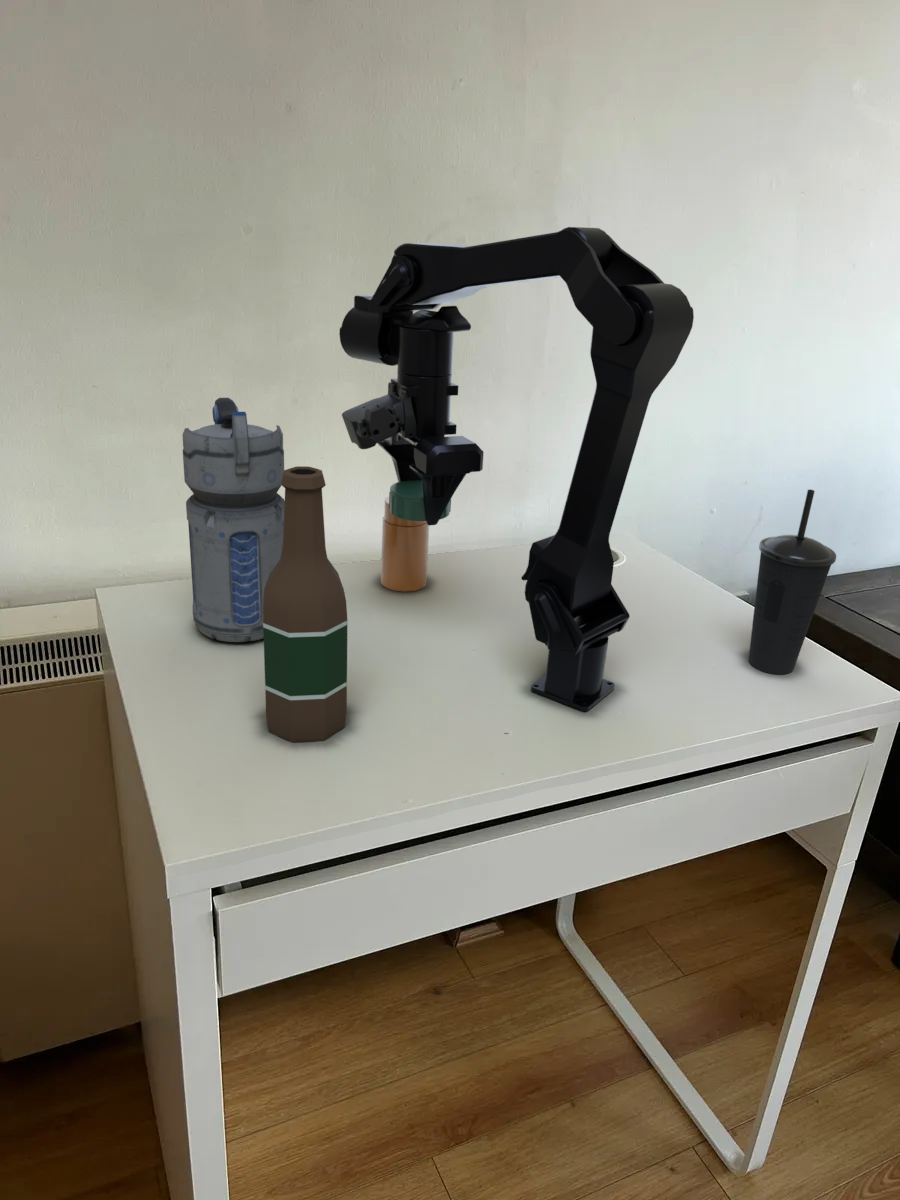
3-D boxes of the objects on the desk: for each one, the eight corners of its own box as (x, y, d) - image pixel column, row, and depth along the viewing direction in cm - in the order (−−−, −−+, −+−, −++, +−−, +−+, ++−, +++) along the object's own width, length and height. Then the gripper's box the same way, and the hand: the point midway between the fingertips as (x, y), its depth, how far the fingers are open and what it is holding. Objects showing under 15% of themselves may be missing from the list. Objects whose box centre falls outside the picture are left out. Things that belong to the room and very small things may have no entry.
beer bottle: (333, 751, 79) (333, 489, 69) (249, 737, 80) (239, 478, 71) (358, 707, 86) (362, 463, 76) (281, 695, 88) (276, 453, 78)
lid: (442, 502, 104) (443, 479, 103) (455, 520, 98) (457, 496, 97) (385, 503, 102) (385, 480, 101) (395, 522, 96) (396, 498, 95)
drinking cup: (817, 683, 96) (863, 504, 88) (746, 679, 96) (785, 499, 88) (794, 650, 103) (834, 481, 95) (727, 646, 103) (762, 477, 95)
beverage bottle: (273, 596, 109) (268, 387, 98) (297, 644, 97) (294, 414, 87) (186, 604, 105) (172, 388, 95) (200, 655, 94) (185, 417, 84)
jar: (418, 594, 111) (422, 510, 107) (374, 587, 113) (376, 504, 108) (431, 577, 117) (436, 497, 112) (389, 571, 118) (392, 491, 114)
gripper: (324, 359, 99) (326, 496, 105) (381, 391, 83) (379, 550, 89) (419, 357, 103) (415, 489, 109) (490, 388, 87) (480, 540, 93)
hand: (419, 515), depth 100 cm, fingers closed on lid, 6 cm apart
